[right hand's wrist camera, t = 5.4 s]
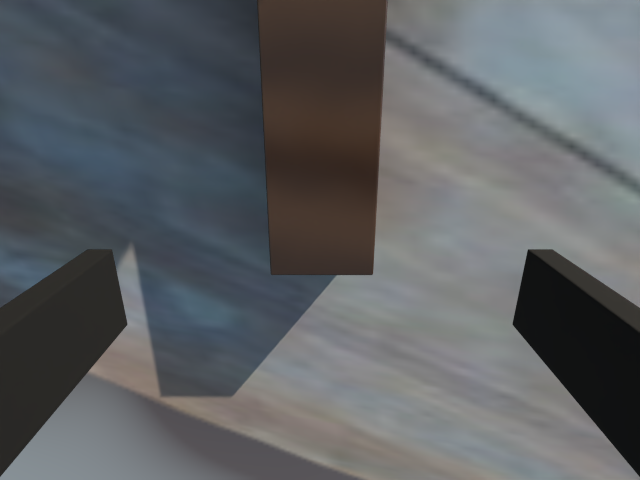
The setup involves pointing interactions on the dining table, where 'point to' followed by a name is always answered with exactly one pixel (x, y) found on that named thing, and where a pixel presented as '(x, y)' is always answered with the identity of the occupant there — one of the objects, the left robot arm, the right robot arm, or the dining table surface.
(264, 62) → the plank
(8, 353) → the right robot arm
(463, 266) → the dining table surface
